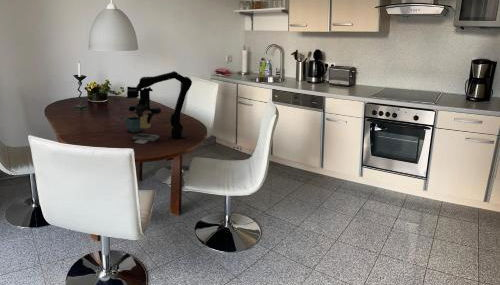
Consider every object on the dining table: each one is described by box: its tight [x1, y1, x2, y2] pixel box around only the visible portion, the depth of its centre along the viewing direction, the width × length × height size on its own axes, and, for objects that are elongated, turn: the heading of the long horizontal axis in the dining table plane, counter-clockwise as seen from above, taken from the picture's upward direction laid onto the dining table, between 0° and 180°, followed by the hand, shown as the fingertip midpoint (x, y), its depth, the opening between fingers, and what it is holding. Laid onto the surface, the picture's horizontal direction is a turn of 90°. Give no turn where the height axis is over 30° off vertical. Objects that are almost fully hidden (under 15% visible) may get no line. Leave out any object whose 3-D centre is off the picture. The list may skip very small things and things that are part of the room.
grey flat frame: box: [131, 132, 160, 142], centre depth 232 cm, size 14×8×2 cm, turn 79°
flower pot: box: [124, 116, 143, 133], centre depth 245 cm, size 9×9×9 cm
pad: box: [134, 139, 150, 145], centre depth 225 cm, size 6×6×1 cm
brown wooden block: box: [140, 114, 151, 129], centre depth 230 cm, size 4×4×7 cm
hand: (145, 123), depth 230 cm, fingers closed on brown wooden block, 4 cm apart
